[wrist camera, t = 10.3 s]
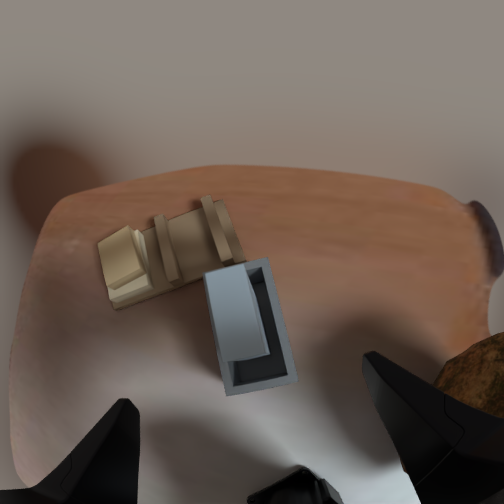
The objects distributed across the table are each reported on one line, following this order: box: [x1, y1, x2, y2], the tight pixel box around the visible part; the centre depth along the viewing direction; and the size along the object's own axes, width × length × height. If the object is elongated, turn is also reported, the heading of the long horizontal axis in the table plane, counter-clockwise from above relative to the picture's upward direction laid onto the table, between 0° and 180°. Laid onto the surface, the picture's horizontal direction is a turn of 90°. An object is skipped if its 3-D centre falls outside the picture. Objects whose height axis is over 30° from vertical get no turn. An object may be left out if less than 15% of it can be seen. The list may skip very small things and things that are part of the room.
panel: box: [205, 264, 271, 362], centre depth 17 cm, size 4×2×10 cm, turn 13°
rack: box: [98, 195, 247, 311], centre depth 24 cm, size 7×14×3 cm, turn 110°
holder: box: [202, 257, 299, 396], centre depth 20 cm, size 9×5×5 cm, turn 12°
